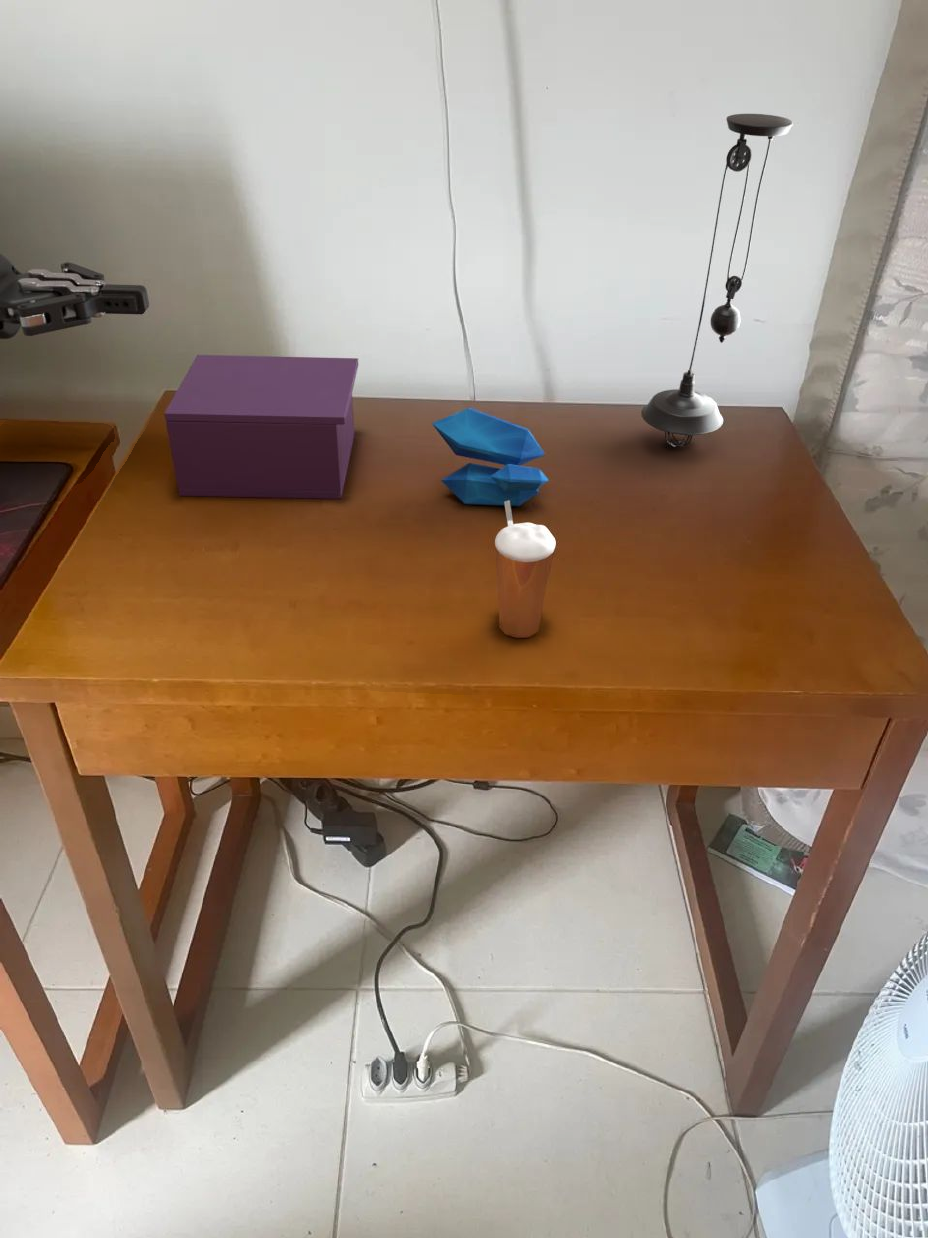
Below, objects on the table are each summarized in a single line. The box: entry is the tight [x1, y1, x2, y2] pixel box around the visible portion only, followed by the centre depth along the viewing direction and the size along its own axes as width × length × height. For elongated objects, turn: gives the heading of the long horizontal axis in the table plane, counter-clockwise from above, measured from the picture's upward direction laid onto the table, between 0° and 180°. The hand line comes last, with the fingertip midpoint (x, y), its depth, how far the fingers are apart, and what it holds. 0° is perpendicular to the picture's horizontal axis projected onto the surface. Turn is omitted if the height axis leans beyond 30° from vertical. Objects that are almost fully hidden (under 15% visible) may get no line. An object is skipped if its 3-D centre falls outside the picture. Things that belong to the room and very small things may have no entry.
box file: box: [165, 395, 355, 500], centre depth 97 cm, size 16×14×8 cm
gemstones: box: [431, 407, 550, 507], centre depth 93 cm, size 7×9×12 cm
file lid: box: [164, 354, 359, 425], centre depth 95 cm, size 16×14×1 cm
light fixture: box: [640, 113, 794, 448], centre depth 95 cm, size 10×8×31 cm
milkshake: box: [494, 501, 557, 639], centre depth 76 cm, size 4×5×10 cm
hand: (145, 299), depth 90 cm, fingers closed
